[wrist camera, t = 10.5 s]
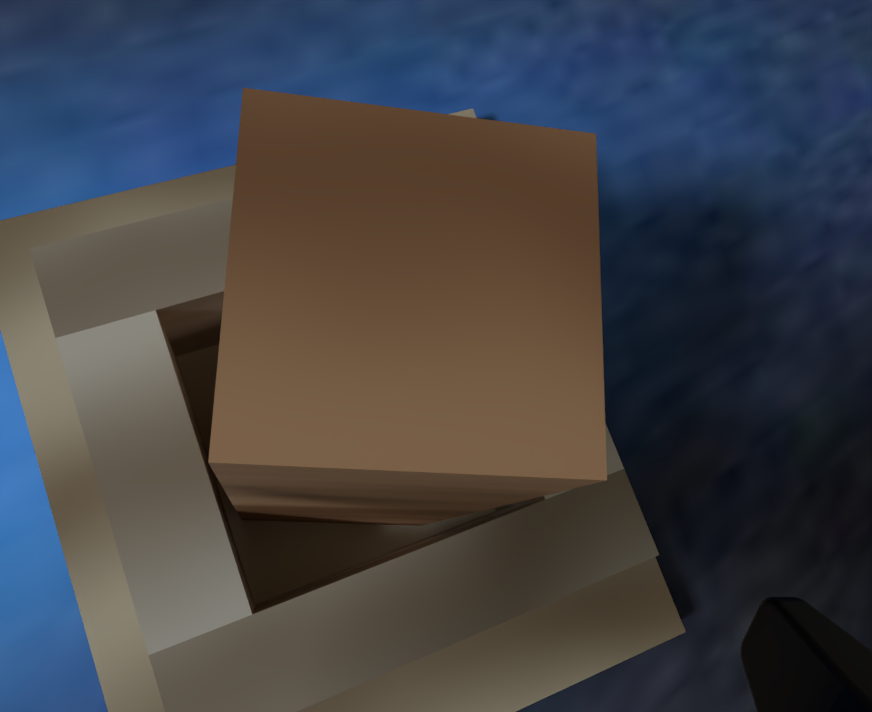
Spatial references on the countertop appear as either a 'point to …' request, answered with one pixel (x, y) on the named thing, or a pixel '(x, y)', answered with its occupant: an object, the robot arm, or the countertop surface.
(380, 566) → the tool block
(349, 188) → the wooden peg
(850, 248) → the countertop surface
